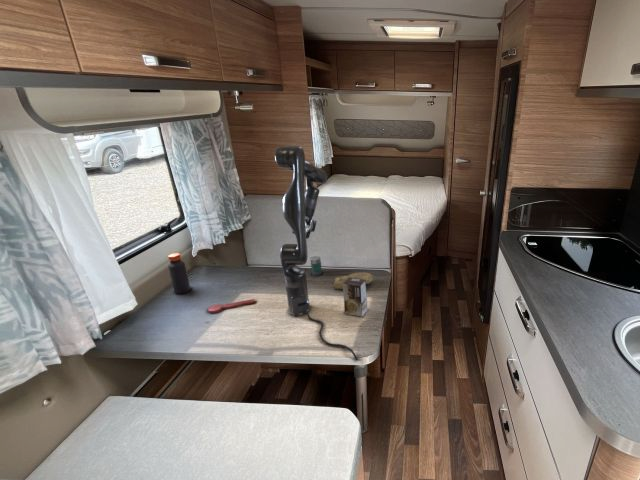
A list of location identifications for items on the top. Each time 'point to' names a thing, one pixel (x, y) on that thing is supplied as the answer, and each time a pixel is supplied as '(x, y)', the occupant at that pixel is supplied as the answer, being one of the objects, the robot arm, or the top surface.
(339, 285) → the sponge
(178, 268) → the bottle
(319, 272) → the can
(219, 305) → the spoon
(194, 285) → the top surface
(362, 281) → the coffee box
